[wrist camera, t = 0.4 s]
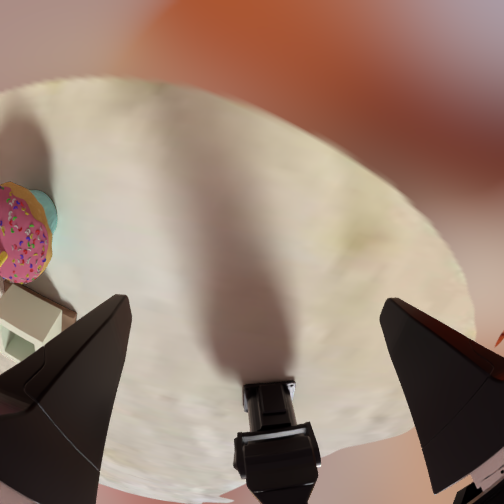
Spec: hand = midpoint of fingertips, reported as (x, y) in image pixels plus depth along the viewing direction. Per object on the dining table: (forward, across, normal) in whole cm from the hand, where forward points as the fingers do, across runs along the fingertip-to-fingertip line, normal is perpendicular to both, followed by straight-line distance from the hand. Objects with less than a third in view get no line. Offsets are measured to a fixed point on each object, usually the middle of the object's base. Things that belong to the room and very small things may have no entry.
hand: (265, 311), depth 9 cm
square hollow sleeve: (+13, +23, +14) cm, 30 cm away
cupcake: (+14, +19, +2) cm, 24 cm away
